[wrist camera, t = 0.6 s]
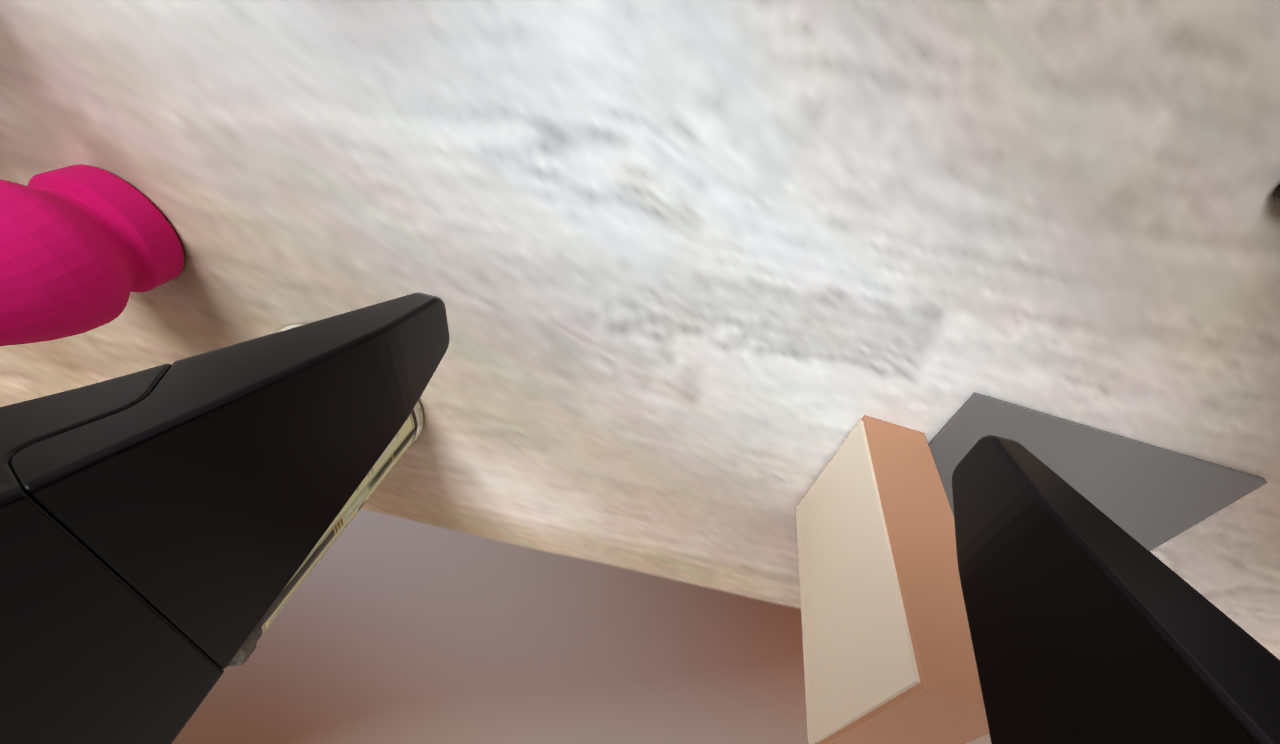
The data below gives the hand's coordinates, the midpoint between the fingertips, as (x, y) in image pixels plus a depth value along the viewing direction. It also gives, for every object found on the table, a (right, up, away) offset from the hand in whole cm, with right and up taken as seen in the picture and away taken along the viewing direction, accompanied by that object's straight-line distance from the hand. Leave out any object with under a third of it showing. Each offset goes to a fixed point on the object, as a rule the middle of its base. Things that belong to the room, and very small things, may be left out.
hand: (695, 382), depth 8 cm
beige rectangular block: (+11, -5, +18) cm, 22 cm away
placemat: (+19, -8, +18) cm, 27 cm away
